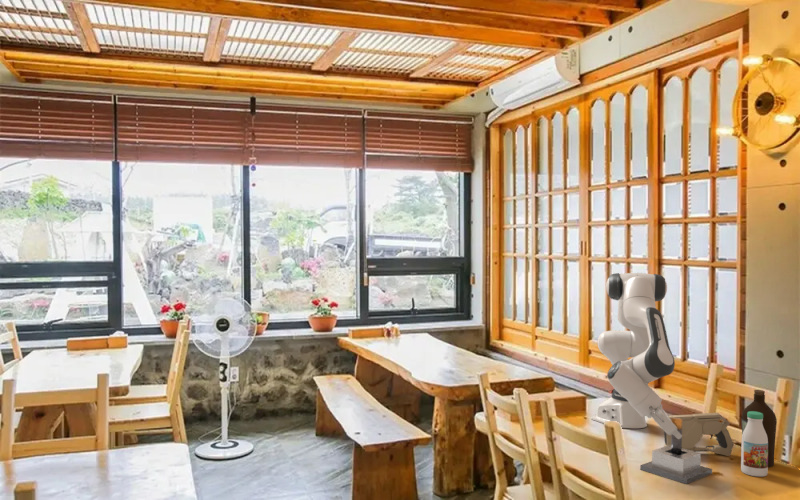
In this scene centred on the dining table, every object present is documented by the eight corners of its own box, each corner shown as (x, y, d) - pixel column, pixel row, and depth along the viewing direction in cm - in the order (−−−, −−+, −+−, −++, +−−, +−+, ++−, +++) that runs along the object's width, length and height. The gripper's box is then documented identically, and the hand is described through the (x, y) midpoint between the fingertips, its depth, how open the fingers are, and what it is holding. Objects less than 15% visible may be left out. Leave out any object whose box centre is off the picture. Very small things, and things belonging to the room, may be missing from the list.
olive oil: (764, 457, 228) (766, 387, 228) (782, 468, 218) (783, 394, 218) (734, 457, 228) (736, 387, 228) (750, 467, 218) (752, 393, 218)
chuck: (640, 469, 214) (640, 450, 214) (666, 460, 224) (666, 441, 224) (686, 484, 202) (687, 463, 202) (712, 473, 212) (712, 453, 212)
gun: (731, 453, 233) (727, 411, 233) (734, 456, 230) (731, 414, 230) (661, 456, 235) (658, 415, 235) (664, 459, 232) (661, 417, 232)
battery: (669, 454, 213) (669, 418, 213) (674, 453, 215) (674, 417, 215) (678, 457, 211) (679, 420, 211) (683, 455, 213) (684, 419, 213)
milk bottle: (735, 470, 215) (736, 410, 215) (752, 468, 218) (753, 408, 217) (755, 478, 208) (756, 416, 208) (773, 475, 210) (774, 414, 210)
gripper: (660, 405, 204) (693, 438, 202) (649, 391, 224) (679, 421, 222) (645, 418, 205) (678, 451, 203) (636, 403, 225) (665, 433, 223)
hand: (678, 435), depth 213 cm, fingers closed on battery, 3 cm apart
